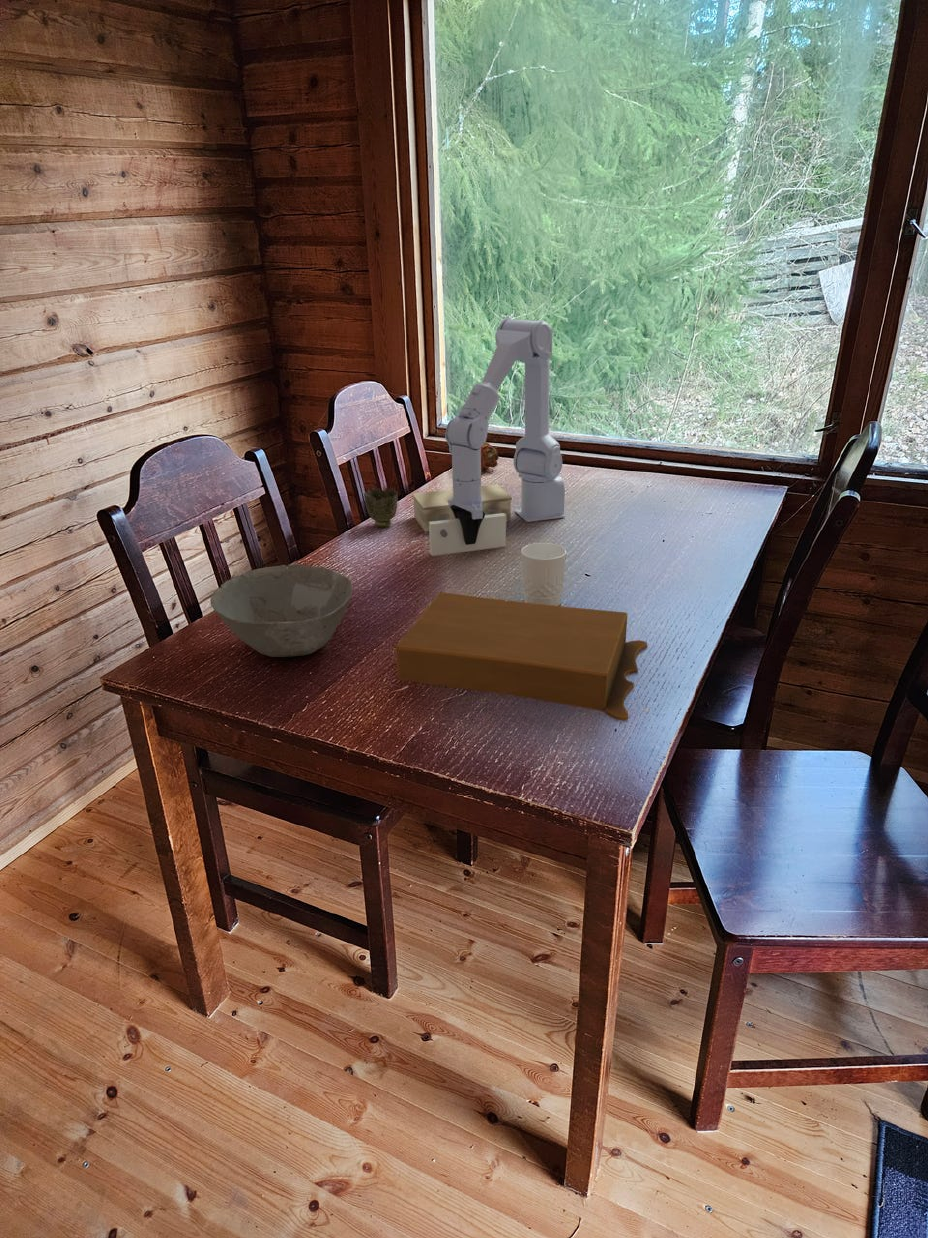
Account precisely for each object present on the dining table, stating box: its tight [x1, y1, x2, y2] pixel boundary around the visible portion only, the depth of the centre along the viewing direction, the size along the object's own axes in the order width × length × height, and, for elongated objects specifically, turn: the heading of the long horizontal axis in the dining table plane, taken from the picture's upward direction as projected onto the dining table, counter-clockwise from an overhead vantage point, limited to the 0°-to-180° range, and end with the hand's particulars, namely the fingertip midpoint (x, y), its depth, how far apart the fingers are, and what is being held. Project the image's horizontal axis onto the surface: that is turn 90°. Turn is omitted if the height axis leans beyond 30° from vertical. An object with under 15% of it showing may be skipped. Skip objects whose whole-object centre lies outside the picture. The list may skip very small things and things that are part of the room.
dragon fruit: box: [481, 440, 500, 473], centre depth 224 cm, size 8×8×12 cm
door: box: [428, 513, 507, 557], centre depth 172 cm, size 16×3×7 cm, turn 106°
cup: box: [363, 487, 399, 529], centre depth 186 cm, size 8×7×8 cm
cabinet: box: [411, 484, 513, 533], centre depth 188 cm, size 20×15×6 cm
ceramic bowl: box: [210, 563, 354, 658], centre depth 136 cm, size 22×23×10 cm
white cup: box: [520, 542, 567, 606], centre depth 149 cm, size 8×8×10 cm
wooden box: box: [395, 591, 648, 721], centre depth 130 cm, size 23×6×35 cm
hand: (468, 541), depth 173 cm, fingers open, 3 cm apart
